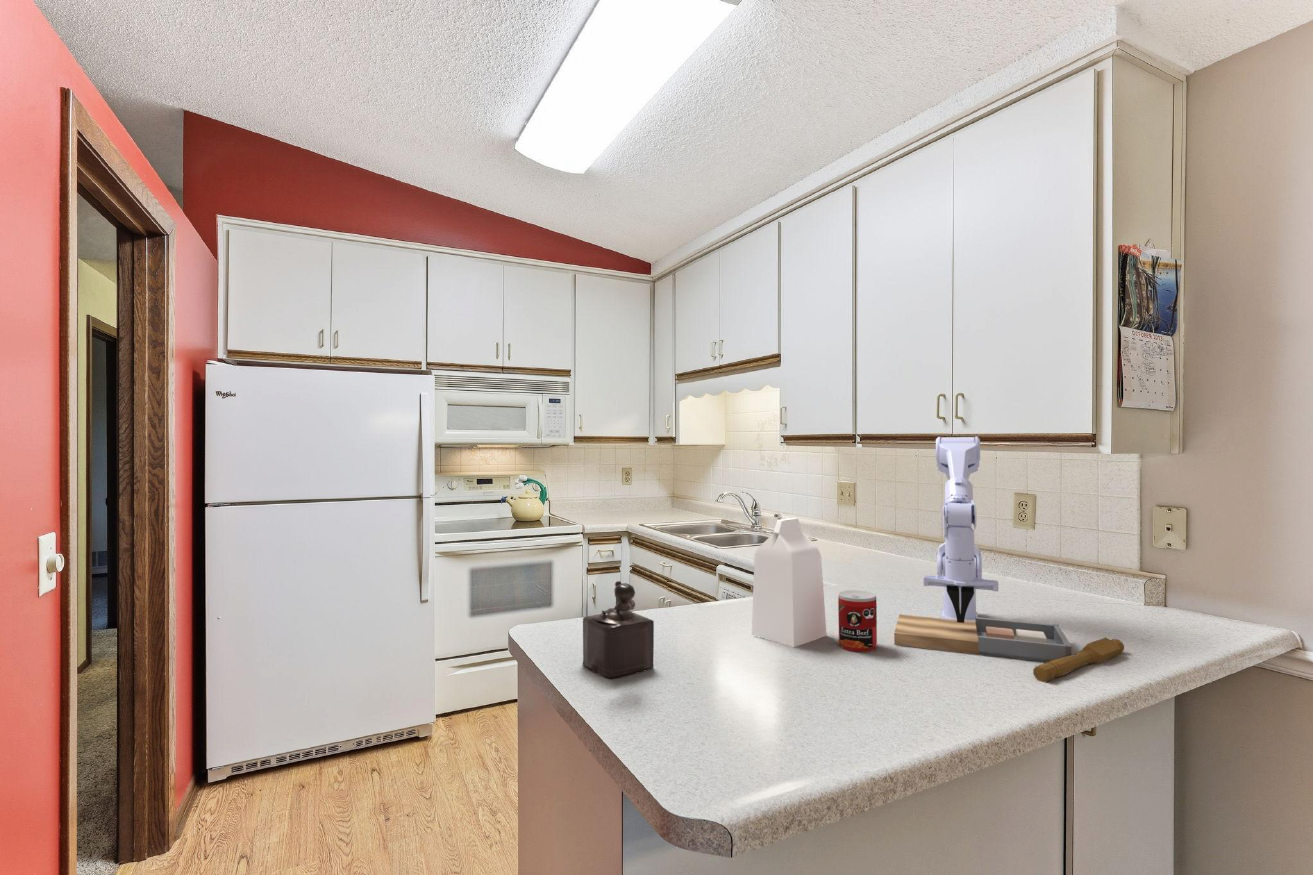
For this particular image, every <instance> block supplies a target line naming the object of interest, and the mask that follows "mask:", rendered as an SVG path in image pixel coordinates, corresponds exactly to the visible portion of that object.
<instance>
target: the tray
mask: <svg viewBox="0 0 1313 875" xmlns="http://www.w3.org/2000/svg"><path fill="white" fill-rule="evenodd" d="M975 623H976V629H977V635H978V642H979V654H978V656H979V655H981V656H990V657H996V658H997V657H999V658H1005V659H1006V658H1007V659H1016V660H1023V661H1031V662H1032V661H1033V662H1040V663H1041V662H1042V663H1047V662H1050V661H1053V660H1056V659H1060V658H1063V657H1067V656H1071V655H1073V646H1072V645H1071V643H1070V642H1069V640H1068V638H1067V637H1066V635H1065V634H1064V632H1063V630H1062V628H1061V627H1060V625H1059V624H1052V623H1043V622H1033V621H1032V622H1030V621H1021V620H1019V621H1018V620H1010V619H998V618H988V617H979V616H978V617H975ZM986 627H996V628H1006V629H1012V630H1013V633H1014V638H1015V639H1005V638H996V637H986ZM1016 629H1019V630H1029V631H1039V632H1044V634H1045V636H1046V638H1047V643H1044V642H1034V641H1025V640H1016Z"/></svg>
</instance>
